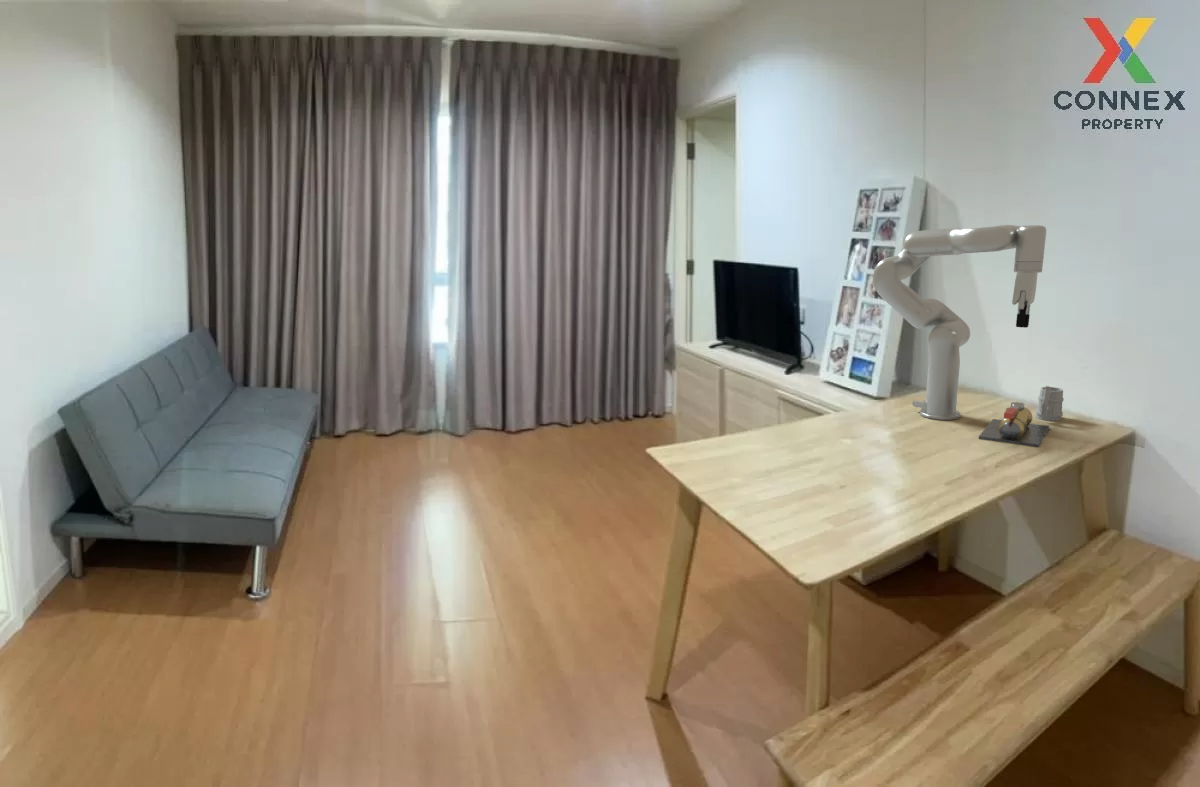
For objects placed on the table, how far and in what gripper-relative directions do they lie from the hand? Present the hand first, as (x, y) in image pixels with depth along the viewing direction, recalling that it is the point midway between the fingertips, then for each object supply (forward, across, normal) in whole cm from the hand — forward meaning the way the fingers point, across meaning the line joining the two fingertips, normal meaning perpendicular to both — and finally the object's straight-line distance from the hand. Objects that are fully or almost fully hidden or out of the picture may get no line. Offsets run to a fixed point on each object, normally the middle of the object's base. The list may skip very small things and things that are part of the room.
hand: (1022, 326), depth 229 cm
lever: (+24, +14, +2) cm, 28 cm away
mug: (+32, -14, +8) cm, 36 cm away
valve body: (+32, +8, +2) cm, 33 cm away
